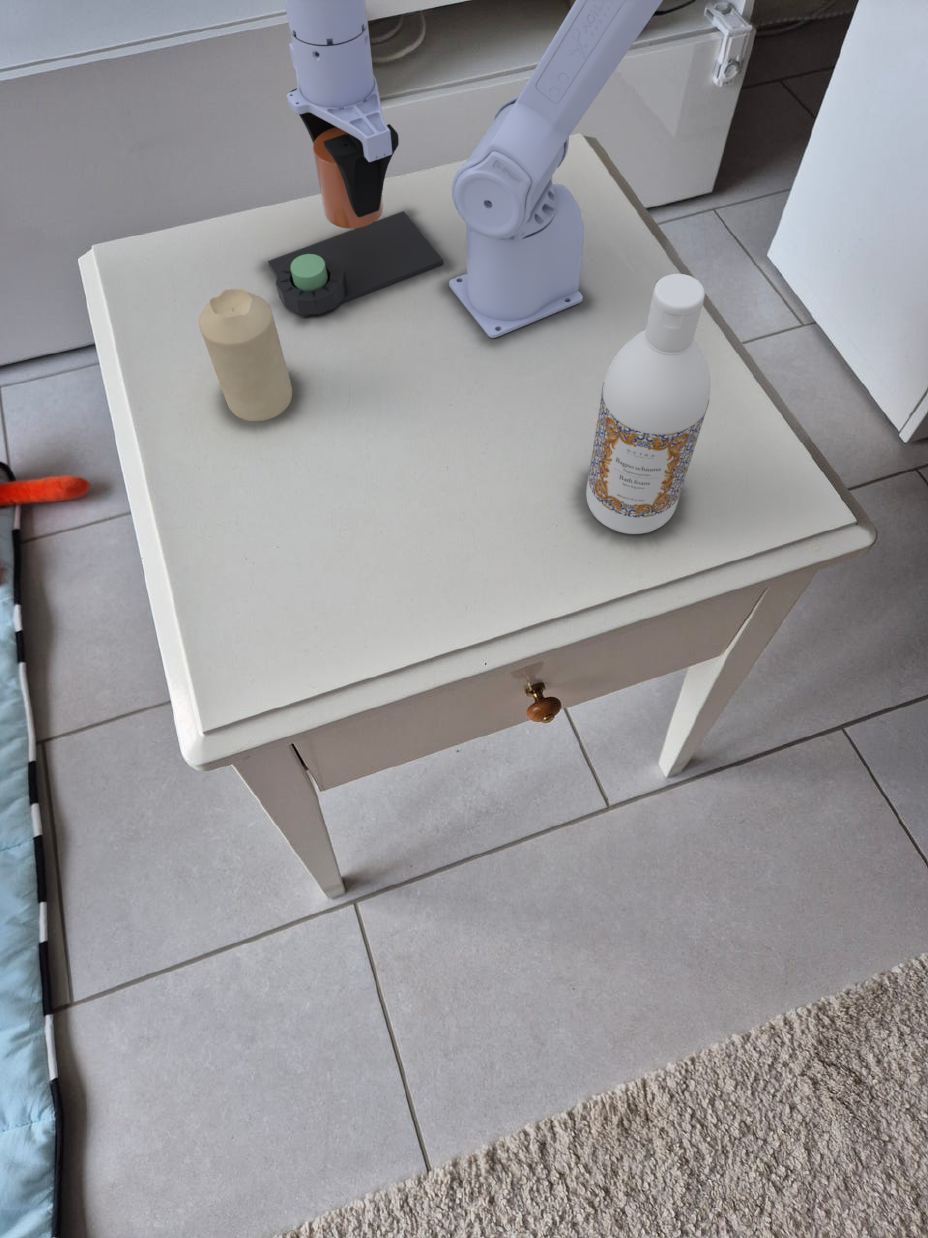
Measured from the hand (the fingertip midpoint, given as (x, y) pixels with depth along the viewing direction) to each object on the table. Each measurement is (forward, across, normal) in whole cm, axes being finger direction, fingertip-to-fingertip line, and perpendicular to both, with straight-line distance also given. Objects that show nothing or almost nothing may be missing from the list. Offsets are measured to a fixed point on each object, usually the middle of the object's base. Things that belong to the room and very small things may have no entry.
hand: (352, 192), depth 77 cm
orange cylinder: (+2, 0, 0) cm, 2 cm away
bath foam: (+7, +35, +6) cm, 37 cm away
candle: (+7, +11, -15) cm, 20 cm away
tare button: (+5, +3, -6) cm, 8 cm away
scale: (+7, +1, -1) cm, 7 cm away
